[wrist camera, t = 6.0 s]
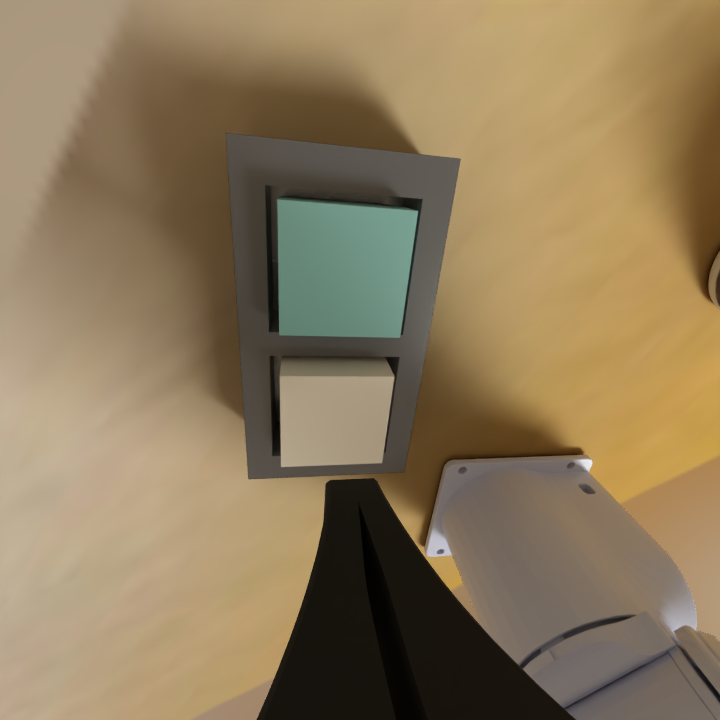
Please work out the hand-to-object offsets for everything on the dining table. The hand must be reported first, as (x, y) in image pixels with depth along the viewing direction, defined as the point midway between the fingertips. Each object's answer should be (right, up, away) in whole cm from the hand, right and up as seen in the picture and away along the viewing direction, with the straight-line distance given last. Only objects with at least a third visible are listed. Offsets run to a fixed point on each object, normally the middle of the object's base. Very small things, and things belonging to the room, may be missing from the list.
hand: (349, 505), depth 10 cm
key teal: (0, +8, +3) cm, 8 cm away
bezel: (-1, +6, +6) cm, 9 cm away
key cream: (-1, +3, +5) cm, 6 cm away
